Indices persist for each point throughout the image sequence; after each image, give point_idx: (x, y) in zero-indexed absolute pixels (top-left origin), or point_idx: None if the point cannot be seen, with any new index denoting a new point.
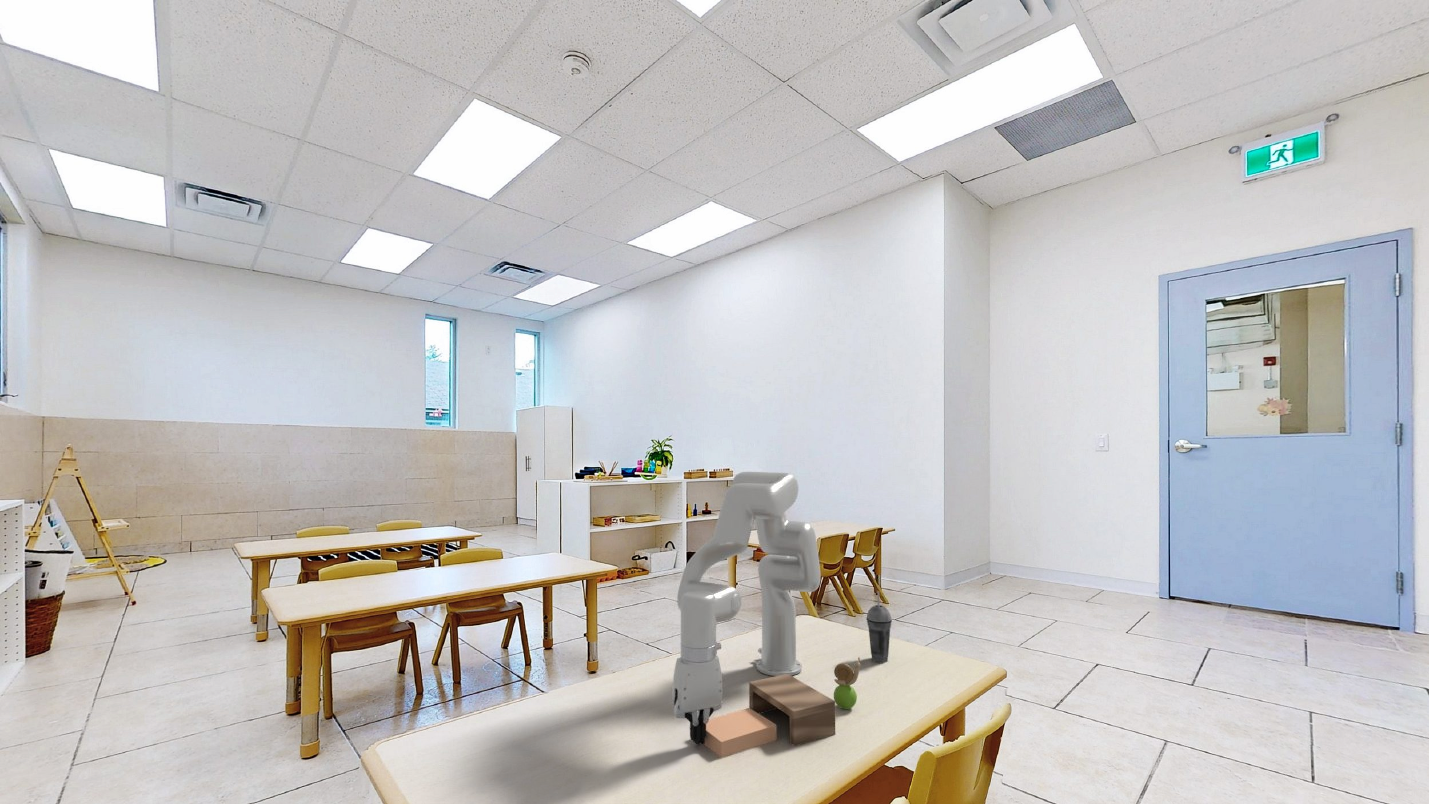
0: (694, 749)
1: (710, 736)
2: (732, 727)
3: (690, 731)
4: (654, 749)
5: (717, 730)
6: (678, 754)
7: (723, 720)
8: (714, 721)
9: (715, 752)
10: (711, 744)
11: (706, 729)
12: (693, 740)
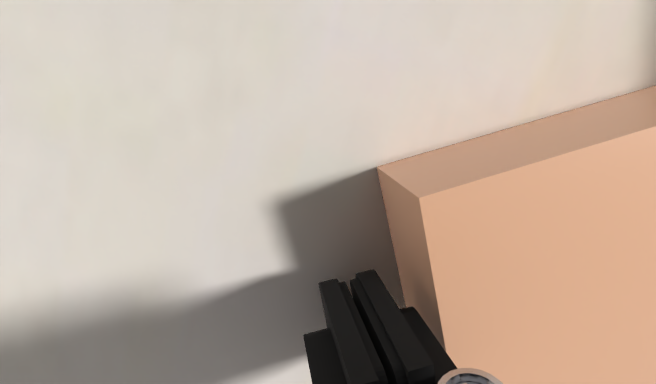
0: (316, 313)
1: None
2: (632, 338)
3: (311, 370)
4: (22, 259)
5: (520, 360)
6: (200, 351)
7: (642, 214)
8: (572, 214)
9: None
10: None
11: (453, 334)
12: (325, 316)
